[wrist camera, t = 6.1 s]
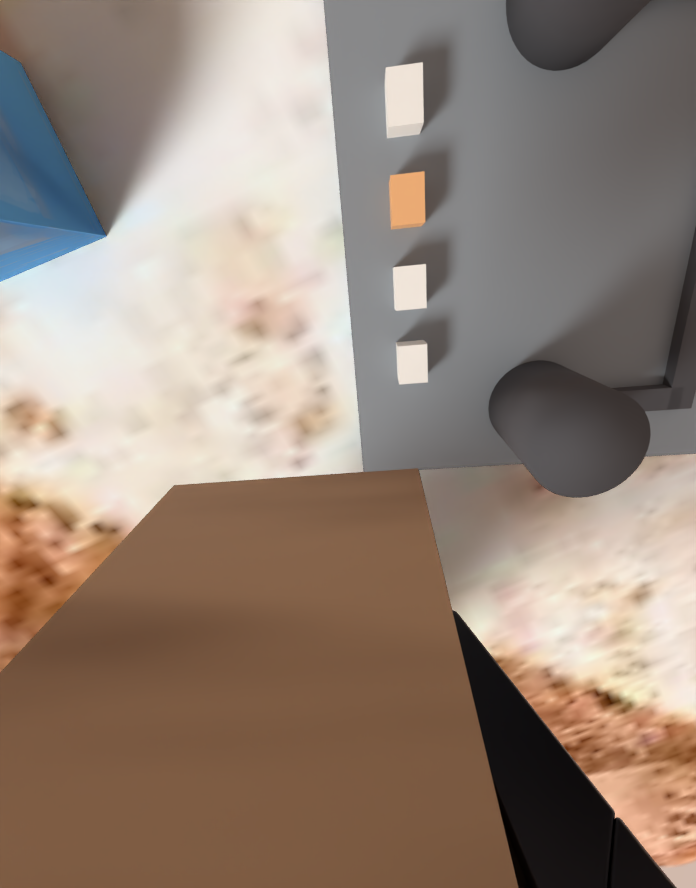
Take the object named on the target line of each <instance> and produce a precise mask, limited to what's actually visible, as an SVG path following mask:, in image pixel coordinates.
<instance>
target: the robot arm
mask: <svg viewBox="0 0 696 888" xmlns="http://www.w3.org/2000/svg"><path fill="white" fill-rule="evenodd" d="M452 612H453V616H454V620H455V624H456V629H457V633H458V637H459V641H460V645H461V650H462V654H463V658H464V662H465V666H466V670H467V675H468V679H469V683H470V687H471V691H472V696H473V700H474V704H475V708H476V712H477V717H478V721H479V725H480V729H481V733H482V737H483V742H484V746H485V750H486V754H487V758H488V763H489V767H490V771H491V775H492V779H493V783H494V788H495V792H496V796H497V800H498V804H499V809H500V813H501V817H502V821H503V825H504V829H505V834H506V838H507V842H508V846H509V850H510V855H511V859H512V863H513V867H514V871H515V876H516V880H517V884H518V888H676V887H675V885H674V884H673V883H672V882H671V880H670V879H669V878H668V877H667V876H666V875H665V873H664V872H663V871H662V870H661V868H660V867H659V866H658V865H657V863H656V862H655V861H654V860H653V859H652V857H651V856H650V855H649V854H648V852H647V851H646V850H645V849H644V847H643V846H642V845H641V844H640V842H639V841H638V840H637V839H636V837H635V836H634V835H633V833H632V832H631V831H630V830H629V828H628V827H627V826H626V825H625V823H624V822H623V821H622V820H621V819H620V818H618V817H616V818H615V812H614V810H613V809H612V807H611V806H610V805H609V804H608V802H607V801H606V800H605V799H604V797H603V796H602V795H601V793H600V792H599V791H598V790H597V788H596V787H595V786H594V785H593V783H592V782H591V781H590V780H589V778H588V777H587V776H586V775H585V773H584V772H583V771H582V769H581V768H580V767H579V766H578V764H577V763H576V762H575V761H574V759H573V758H572V757H571V756H570V754H569V753H568V752H567V751H566V749H565V748H564V747H563V746H562V744H561V743H560V742H559V740H558V739H557V738H556V737H555V735H554V734H553V733H552V732H551V730H550V729H549V728H548V727H547V725H546V724H545V723H544V722H543V720H542V719H541V718H540V716H539V715H538V714H537V713H536V711H535V710H534V709H533V708H532V706H531V705H530V704H529V703H528V701H527V700H526V699H525V698H524V696H523V695H522V694H521V693H520V691H519V690H518V689H517V687H516V686H515V685H514V684H513V682H512V681H511V680H510V679H509V677H508V676H507V675H506V674H505V672H504V671H503V670H502V669H501V667H500V666H499V665H498V663H497V662H496V661H495V660H494V658H493V657H492V656H491V655H490V653H489V652H488V651H487V650H486V648H485V647H484V646H483V645H482V643H481V642H480V641H479V640H478V638H477V637H476V636H475V634H474V633H473V632H472V631H471V629H470V628H469V627H468V626H467V624H466V623H465V622H464V621H463V619H462V618H461V617H460V616H459V614H458V613H457V612H456V611H453V610H452Z"/></svg>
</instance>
